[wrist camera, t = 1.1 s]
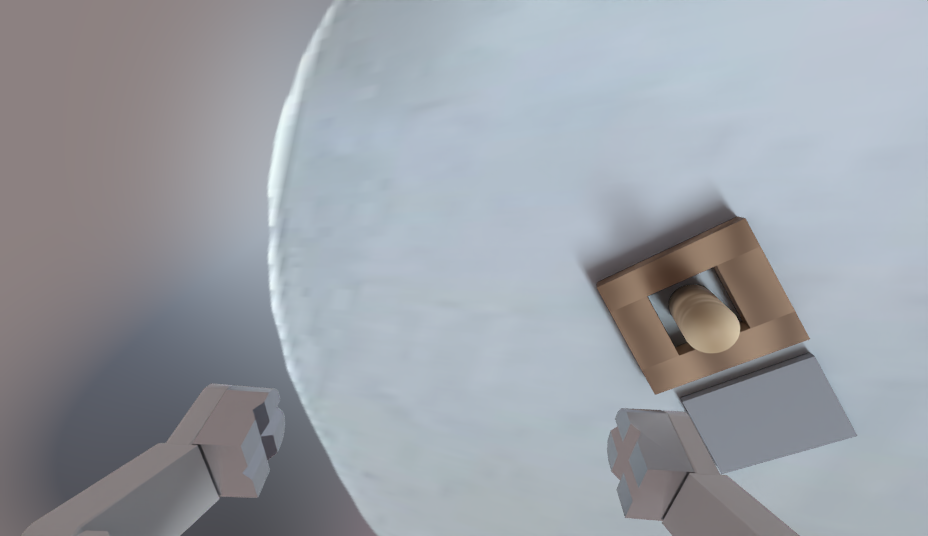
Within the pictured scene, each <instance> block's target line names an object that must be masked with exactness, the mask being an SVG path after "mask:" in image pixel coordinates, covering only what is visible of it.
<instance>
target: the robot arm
mask: <svg viewBox="0 0 928 536" xmlns="http://www.w3.org/2000/svg"><path fill="white" fill-rule="evenodd" d="M279 401H280V396H279V393H278V390H277V389H272V388H261V387H249V386H237V385H222V384H210V385H209V386H207V387H206V388H204V389H203V391H202V392H201V394H200V395H199V396H198V398H197V399H196V401H195V402H194V404H193V405H192V406H191V408H190V409H189V411H188V412H187V414H186V415H185V416H184V418H183V419H182V421H181V422H180V424H179V425H178V426H177V428H176V429H175V431H174V432H173V434H172V435H171V436H170V438H169V439H168V441H167V442H166V443H158V444H157V445H155V446H154V447H152V448H150V449H149V450H147V451H146V452H144V453H142V454H141V455H139V456H138V457H136V458H135V459H133V460H131V461H130V462H128V463H127V464H125V465H124V466H122V467H120V468H119V469H117V470H116V471H114V472H112V473H111V474H109V475H108V476H106V477H105V478H103V479H101V480H100V481H98V482H97V483H95V484H94V485H92V486H90V487H89V488H87V489H86V490H84V491H83V492H81V493H79V494H78V495H76V496H75V497H73V498H71V499H70V500H68V501H67V502H65V503H64V504H62V505H60V506H59V507H57V508H56V509H54V510H52V511H51V512H50V513H48V514H46V515H45V516H43V517H42V518H40V519H38V520H37V521H35V522H34V523H32V524H30V525H29V526H28V528H27V529H26V530H25V531H24V532H23V534H22V535H21V536H180V535H181V534H182V533H183V532H184V531H186V530H187V529H188V528H189V527H190V526H191V525H192V524H193V523H194V522H195V521H196V520H197V519H198V518H199V517H200V516H202V515H203V514H204V513H205V512H206V511H207V510H208V509H209V508H210V507H211V506H212V505H213V504H214V503H216V501H218V500H219V497H255V498H256V497H258V496H259V494H260V491H261V489H262V487H263V485H264V482H265V480H266V478H267V475H268V473H269V471H270V469H269V465H268V462H267V460H269V459H270V458H271V457H272V456H274V455H275V454H276V453H277V452H278V450H279V448H280V445H281V443H282V440H283V435H284V431H285V417H284V413H283V411H282V410H281V409H279V408H278V407H277V405H278V403H279ZM615 420H616V423H617V427H616V428H614V429H613V430H611V431H610V435H609V438H608V444H607V454H608V461H609V465H610V468H611V471H612V472H613V473H614V475H615V476H616V477H617V478H618V479H619V480H620V482H619V485H618V487H617V492H618V496H619V499H620V502H621V506H622V509H623V513H624V516H625V518H634V519H646V520H658V521H663V522H662V524H663V525H664V526H665V527H666V528H667V530H668V531H669V532H670V533H671V534H672V536H800V535H798V534H797V533H796V532H795V531H793V530H792V529H791V528H790V527H789V526H787V525H786V524H785V523H784V522H783V521H781V520H780V519H779V518H778V517H777V516H775V515H774V514H773V513H772V512H771V511H769V510H768V509H767V508H766V507H765V506H763V505H762V504H761V503H760V502H759V501H757V500H756V499H755V498H754V497H753V496H751V495H750V494H749V493H748V492H746V491H745V490H744V489H743V488H742V487H740V486H739V485H738V484H737V483H736V482H734V481H733V480H732V479H731V478H730V477H728V476H727V475H720V473H719V471H718V469H717V467H716V466H715V464H714V462H713V460H712V458H711V456H710V454H709V452H708V450H707V449H706V447H705V445H704V443H703V441H702V439H701V437H700V435H699V433H698V431H697V430H696V428H695V426H694V424H693V422H692V420H691V418H690V416H689V415H688V414H687V413H686V412H679V411H661V410H647V409H625V408H621V409H620V410H619V411H618V413H617V415H616V418H615Z"/></svg>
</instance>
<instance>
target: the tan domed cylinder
mask: <svg viewBox="0 0 928 536" xmlns="http://www.w3.org/2000/svg"><path fill="white" fill-rule="evenodd" d="M669 310H670V313H671V315H672V317H673V318H674V320H675V322H676V323H677V325H678V327H679V329H680V330H681V332H682V334H683V336H684V337H685V339H686V341H687V342H688V343H689V345H691V346H692V347H693V348H694V349H696V350H698V351H701V352H704V353H719V352H723V351H725V350H727V349H729V348H730V347H731V346H733V345H734V344H735V342H736V341H737V339H738V337H739V334H740V324H739V321H738V318H737V317H736V315H735V314H734V313H733V312H732V311H731V310H730V309H729V308H727V307H726V306H725V305H724V304H723V303H722V302H721V301H720V300H719V299H718V298H717V297H716V296H715V295H714V294H713V293H711V292H710V291H709V290H708V289H707V288H705V287H703V286H700V285H686V286H683V287H681V288H679V289H677V290H676V291H675V292H674V293H673V294H672V296H671V298H670V301H669Z"/></svg>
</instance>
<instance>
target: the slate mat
mask: <svg viewBox="0 0 928 536" xmlns="http://www.w3.org/2000/svg"><path fill="white" fill-rule="evenodd" d="M681 400H682V402H683V404H684V406H685V408H686V410H687V411H688V413H689V415H690V417H691V419H692V421H693V422H694V424H695V426H696V428H697V430H698V432H699V434H700V435H701V437H702V439H703V441H704V443H705V445H706V446H707V448H708V450H709V452H710V454H711V456H712V457H713V459H714V461H715V463H716V465H717V467H718V468H719V470H720V472H721V474H724V473H727V472H731V471H734V470H738V469H741V468H745V467H749V466H752V465H756V464H759V463H763V462H766V461H770V460H773V459H777V458H781V457H784V456H788V455H791V454H795V453H798V452H802V451H805V450H809V449H813V448H816V447H820V446H823V445H827V444H830V443H834V442H837V441H841V440H845V439H848V438H852V437H855V436H857V434H856V432H855V430H854V429H853V427H852V425H851V423H850V421H849V419H848V417H847V416H846V414H845V412H844V410H843V408H842V406H841V404H840V402H839V401H838V399H837V397H836V395H835V393H834V391H833V389H832V387H831V386H830V384H829V382H828V380H827V378H826V376H825V374H824V373H823V371H822V369H821V367H820V365H819V363H818V361H817V359H816V358H815V356H814V355H813V354H811V353H807V354H804V355H801V356H799V357H796V358H793V359H790V360H787V361H784V362H781V363H779V364H776V365H773V366H770V367H767V368H764V369H761V370H759V371H756V372H753V373H750V374H747V375H744V376H741V377H739V378H736V379H733V380H730V381H727V382H724V383H721V384H719V385H716V386H713V387H710V388H707V389H704V390H701V391H698V392H696V393H693V394H690V395H687V396H684V397H681Z"/></svg>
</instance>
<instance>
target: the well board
mask: <svg viewBox="0 0 928 536" xmlns="http://www.w3.org/2000/svg"><path fill="white" fill-rule="evenodd" d="M712 267H714V269H715V271H716V273H717V274H718V276H719V278H720V280H721V282H722V284H723V286H724V287H725V289H726V291H727V293H728V295H729V297H730V299H731V300H732V302H733V304H734V306H735V308H736V310H737V312H738V313H739V315H740V317H741V319H742V321H741V322H739V324H740V334H739V337H738V339H737V341H736V342H735V344H734V345H733V346H731V347H730V348H729V349H727V350H725V351H723V352H719V353H704V352H701V351H698V350H696V349H694V348H693V347H692V346H691V345H689V343H688V342H687V343H685V344H682V345H679V346H677V347H675V346H674V344H673V343H672V341H671V339H670V337H669V335H668V333H667V331H666V330H665V328H664V326H663V324H662V322H661V320H660V319H659V317H658V315H657V313H656V311H655V309H654V308H653V306H652V304H651V302H650V300H649V298H648V296H649V295H651V294H653V293H656V292H658V291H660V290H663V289H665V288H667V287H669V286H672V285H674V284H676V283H678V282H681V281H683V280H685V279H687V278H690V277H692V276H694V275H697V274H699V273H701V272H703V271H706V270H708V269H710V268H712ZM597 289H598V291H599V293H600V295H601V297H602V298H603V300H604V302H605V304H606V306H607V308H608V309H609V311H610V313H611V315H612V317H613V319H614V320H615V322H616V324H617V326H618V328H619V330H620V331H621V333H622V335H623V337H624V339H625V341H626V342H627V344H628V346H629V348H630V350H631V351H632V353H633V355H634V357H635V359H636V361H637V362H638V364H639V366H640V368H641V370H642V372H643V373H644V375H645V377H646V379H647V381H648V383H649V384H650V386H651V388H652V390H653V392H654V394H655V395H656V394H659V393H661V392H664V391H667V390H670V389H672V388H675V387H678V386H681V385H684V384H686V383H689V382H692V381H695V380H698V379H700V378H703V377H706V376H709V375H711V374H714V373H717V372H720V371H723V370H725V369H728V368H731V367H734V366H736V365H739V364H742V363H745V362H748V361H750V360H753V359H756V358H759V357H762V356H764V355H767V354H770V353H773V352H775V351H778V350H781V349H784V348H787V347H789V346H792V345H795V344H798V343H801V342H803V341H806V340H809V339H810V338H809V336H808V334H807V333H806V331H805V329H804V327H803V325H802V323H801V321H800V320H799V318H798V316H797V314H796V312H795V310H794V308H793V306H792V305H791V303H790V301H789V299H788V297H787V295H786V293H785V291H784V290H783V288H782V286H781V284H780V282H779V280H778V278H777V277H776V275H775V273H774V271H773V269H772V267H771V265H770V263H769V262H768V260H767V258H766V256H765V254H764V252H763V250H762V248H761V247H760V245H759V243H758V241H757V239H756V237H755V235H754V234H753V232H752V230H751V228H750V226H749V224H748V222H747V220H746V219H745V218H741V217H735V218H733V219H731V220H729V221H727V222H725V223H722V224H720V225H718V226H716V227H714V228H712V229H710V230H708V231H705V232H703V233H701V234H699V235H697V236H695V237H693V238H691V239H688V240H686V241H684V242H682V243H680V244H678V245H676V246H674V247H671V248H669V249H667V250H665V251H663V252H661V253H659V254H657V255H654V256H652V257H650V258H648V259H646V260H644V261H642V262H639V263H637V264H635V265H633V266H631V267H629V268H627V269H625V270H622V271H620V272H618V273H616V274H614V275H612V276H610V277H608V278H605V279H603V280H601V281H599V282H597Z"/></svg>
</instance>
